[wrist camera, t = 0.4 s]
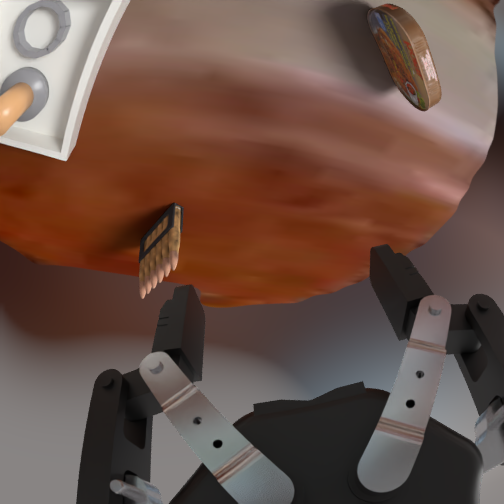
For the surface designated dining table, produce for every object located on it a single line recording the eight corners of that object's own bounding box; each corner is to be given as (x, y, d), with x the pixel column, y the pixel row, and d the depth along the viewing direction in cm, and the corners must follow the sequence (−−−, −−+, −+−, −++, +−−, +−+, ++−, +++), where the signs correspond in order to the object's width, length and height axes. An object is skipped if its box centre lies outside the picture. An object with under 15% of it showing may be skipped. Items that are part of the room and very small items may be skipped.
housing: (-23, 119, 26) (-56, 154, 20) (11, -28, 12) (-33, -21, 7) (75, 145, 34) (53, 185, 29) (134, -8, 21) (113, -6, 15)
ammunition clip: (149, 244, 52) (144, 303, 44) (140, 240, 51) (134, 299, 43) (183, 207, 47) (183, 268, 39) (174, 202, 46) (171, 264, 38)
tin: (357, 5, 25) (394, 15, 20) (377, -3, 24) (417, 7, 19) (398, 96, 35) (430, 124, 30) (414, 88, 34) (448, 114, 29)
